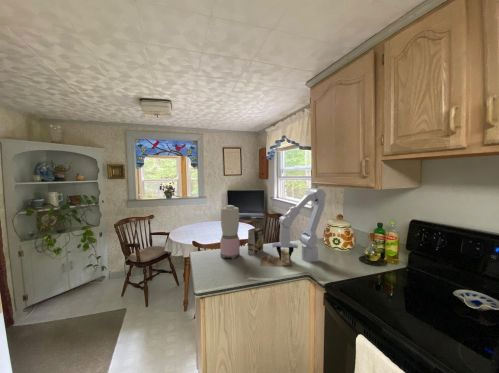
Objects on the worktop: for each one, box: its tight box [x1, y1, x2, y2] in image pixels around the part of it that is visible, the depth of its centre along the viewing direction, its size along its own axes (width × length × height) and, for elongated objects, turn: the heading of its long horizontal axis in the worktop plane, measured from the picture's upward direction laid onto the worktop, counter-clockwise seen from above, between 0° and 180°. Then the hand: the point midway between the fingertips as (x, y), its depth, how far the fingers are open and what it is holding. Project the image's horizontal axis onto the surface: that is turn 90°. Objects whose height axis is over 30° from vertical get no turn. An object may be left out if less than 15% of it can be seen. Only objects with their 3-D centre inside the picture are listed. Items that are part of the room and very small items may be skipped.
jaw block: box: [281, 248, 289, 265], centre depth 128 cm, size 4×9×6 cm, turn 174°
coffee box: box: [247, 227, 264, 256], centre depth 144 cm, size 9×6×16 cm
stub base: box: [259, 255, 293, 268], centre depth 129 cm, size 18×13×4 cm
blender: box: [219, 204, 241, 260], centre depth 140 cm, size 16×12×32 cm
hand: (284, 259), depth 128 cm, fingers closed on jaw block, 4 cm apart
